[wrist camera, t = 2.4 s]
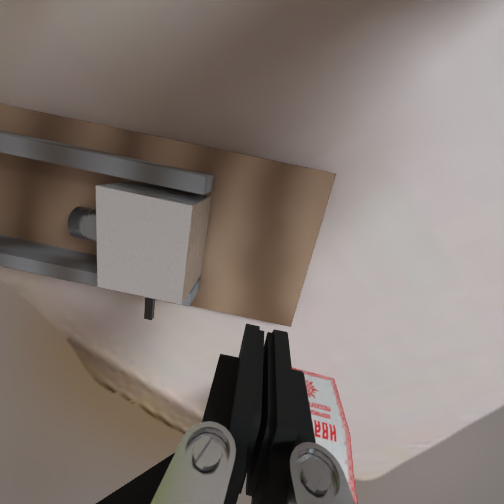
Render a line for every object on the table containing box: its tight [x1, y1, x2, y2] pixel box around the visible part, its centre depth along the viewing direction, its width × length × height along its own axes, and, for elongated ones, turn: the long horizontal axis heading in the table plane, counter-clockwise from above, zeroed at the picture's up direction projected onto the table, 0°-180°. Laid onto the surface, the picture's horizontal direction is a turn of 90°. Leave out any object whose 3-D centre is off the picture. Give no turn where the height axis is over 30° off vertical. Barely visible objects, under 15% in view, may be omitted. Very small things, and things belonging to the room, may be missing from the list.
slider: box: [67, 181, 212, 320], centre depth 19 cm, size 9×10×5 cm
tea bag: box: [292, 368, 358, 504], centre depth 23 cm, size 4×7×10 cm, turn 75°
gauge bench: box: [0, 104, 336, 327], centre depth 19 cm, size 33×14×8 cm, turn 79°
